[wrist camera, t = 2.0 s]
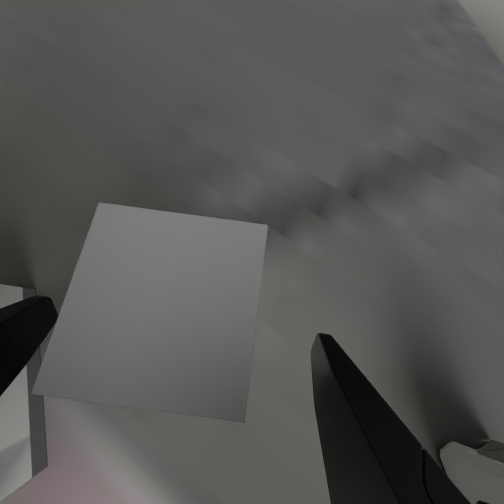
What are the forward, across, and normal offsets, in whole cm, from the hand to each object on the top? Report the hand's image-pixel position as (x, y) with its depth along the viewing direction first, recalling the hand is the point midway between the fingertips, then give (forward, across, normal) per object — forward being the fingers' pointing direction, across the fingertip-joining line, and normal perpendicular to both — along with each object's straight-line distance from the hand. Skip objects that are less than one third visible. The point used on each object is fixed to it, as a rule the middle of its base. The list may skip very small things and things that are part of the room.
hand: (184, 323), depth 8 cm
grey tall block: (+6, 0, +6) cm, 8 cm away
